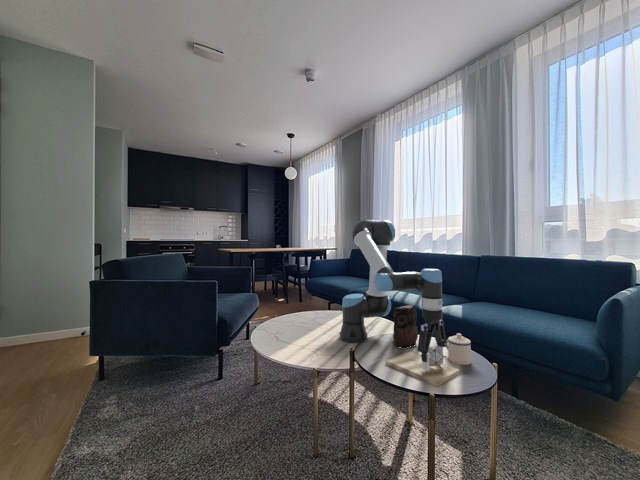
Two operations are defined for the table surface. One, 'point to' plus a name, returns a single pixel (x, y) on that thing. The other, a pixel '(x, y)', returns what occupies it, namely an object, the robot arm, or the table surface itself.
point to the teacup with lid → (459, 349)
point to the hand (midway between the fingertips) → (432, 366)
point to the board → (413, 366)
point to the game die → (435, 356)
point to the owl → (405, 326)
